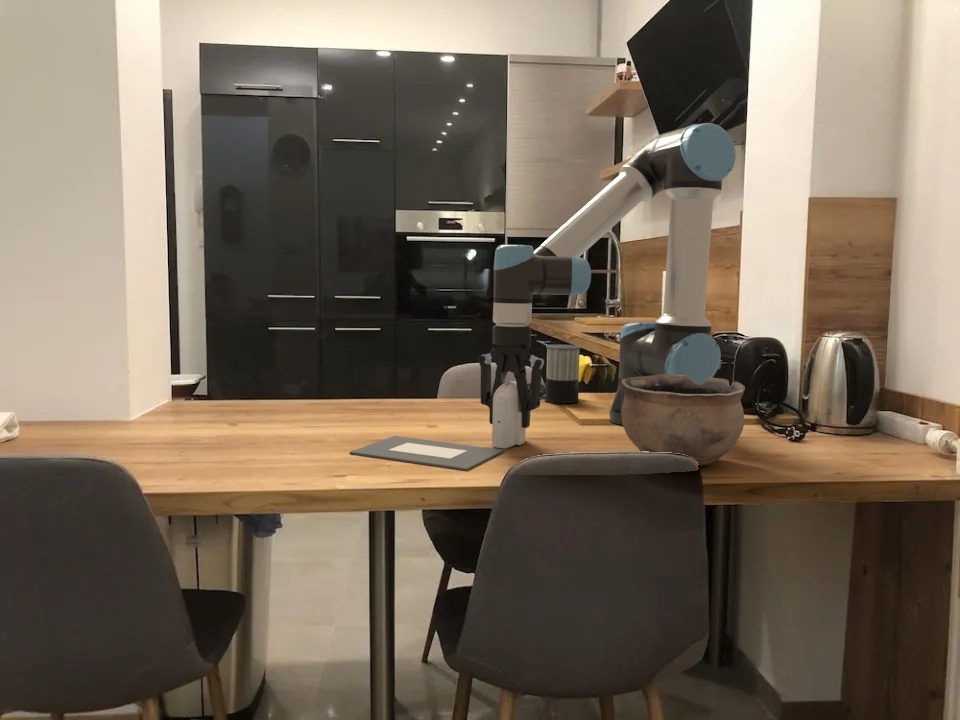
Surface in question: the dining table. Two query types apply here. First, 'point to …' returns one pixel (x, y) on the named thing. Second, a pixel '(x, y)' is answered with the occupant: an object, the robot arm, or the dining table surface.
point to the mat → (428, 452)
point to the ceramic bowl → (683, 415)
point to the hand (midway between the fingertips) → (509, 441)
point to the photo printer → (505, 415)
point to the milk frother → (561, 374)
